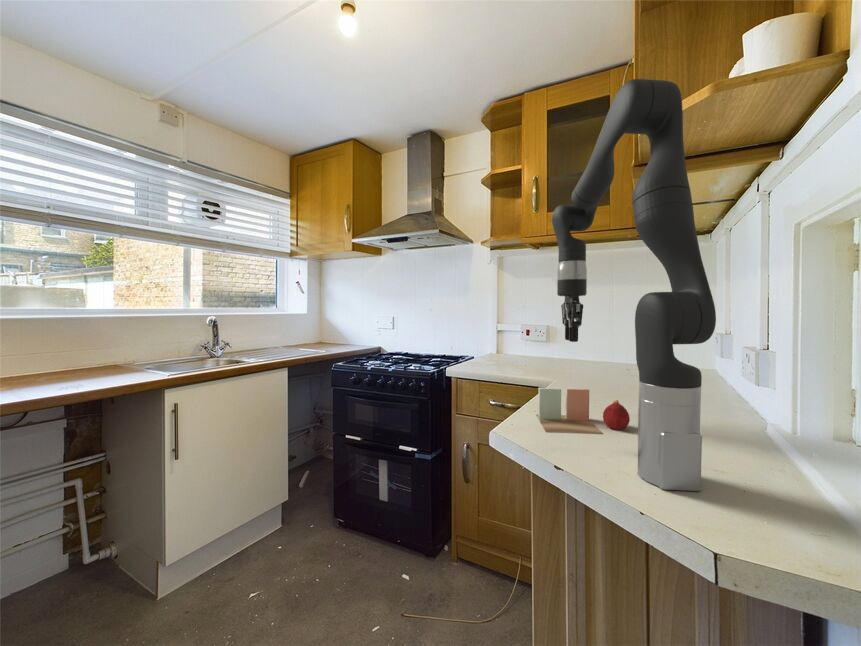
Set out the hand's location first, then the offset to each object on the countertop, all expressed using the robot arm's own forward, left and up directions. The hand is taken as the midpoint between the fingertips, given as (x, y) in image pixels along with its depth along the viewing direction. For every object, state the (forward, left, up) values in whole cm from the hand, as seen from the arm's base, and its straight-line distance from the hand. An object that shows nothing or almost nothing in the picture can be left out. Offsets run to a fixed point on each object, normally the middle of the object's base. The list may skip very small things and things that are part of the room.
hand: (571, 340), depth 102 cm
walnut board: (-11, +4, -21) cm, 24 cm away
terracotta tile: (-7, 0, -20) cm, 21 cm away
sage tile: (-7, +7, -20) cm, 22 cm away
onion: (-13, -7, -21) cm, 26 cm away
